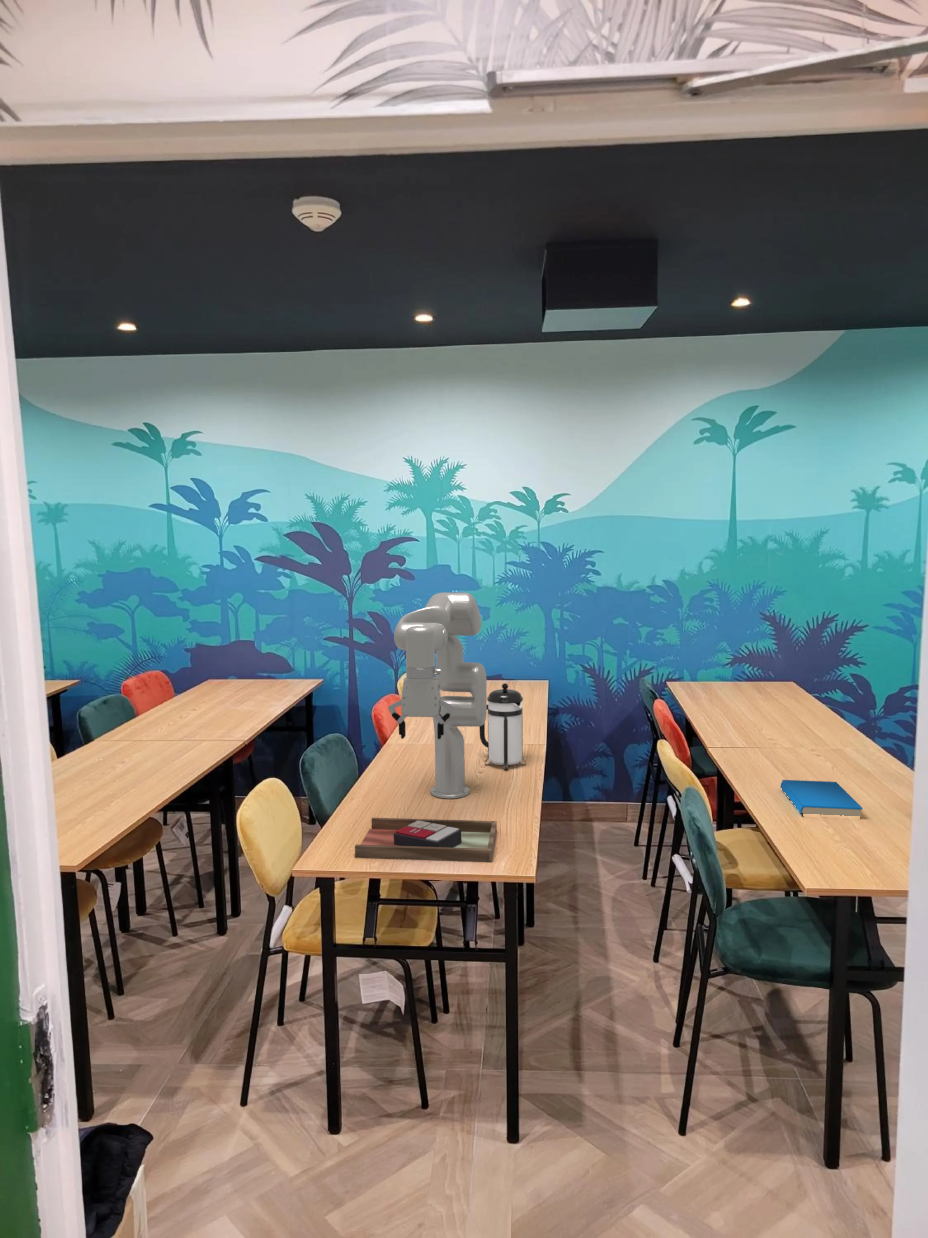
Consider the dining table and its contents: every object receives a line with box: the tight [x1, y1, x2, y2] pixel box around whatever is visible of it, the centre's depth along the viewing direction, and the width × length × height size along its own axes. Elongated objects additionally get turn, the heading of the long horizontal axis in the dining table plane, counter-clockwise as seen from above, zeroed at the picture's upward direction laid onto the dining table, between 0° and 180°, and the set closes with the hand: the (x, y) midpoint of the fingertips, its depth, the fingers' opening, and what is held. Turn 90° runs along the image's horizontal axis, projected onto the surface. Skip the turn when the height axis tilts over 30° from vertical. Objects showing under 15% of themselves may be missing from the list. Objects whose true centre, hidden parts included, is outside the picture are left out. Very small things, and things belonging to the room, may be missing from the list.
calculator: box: [394, 821, 462, 848], centre depth 213 cm, size 11×4×15 cm
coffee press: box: [479, 683, 527, 772], centre depth 285 cm, size 17×16×30 cm
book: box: [780, 779, 863, 817], centre depth 242 cm, size 17×4×25 cm
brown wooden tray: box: [353, 817, 498, 863], centre depth 213 cm, size 21×36×3 cm, turn 84°
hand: (421, 737), depth 208 cm, fingers open, 9 cm apart
